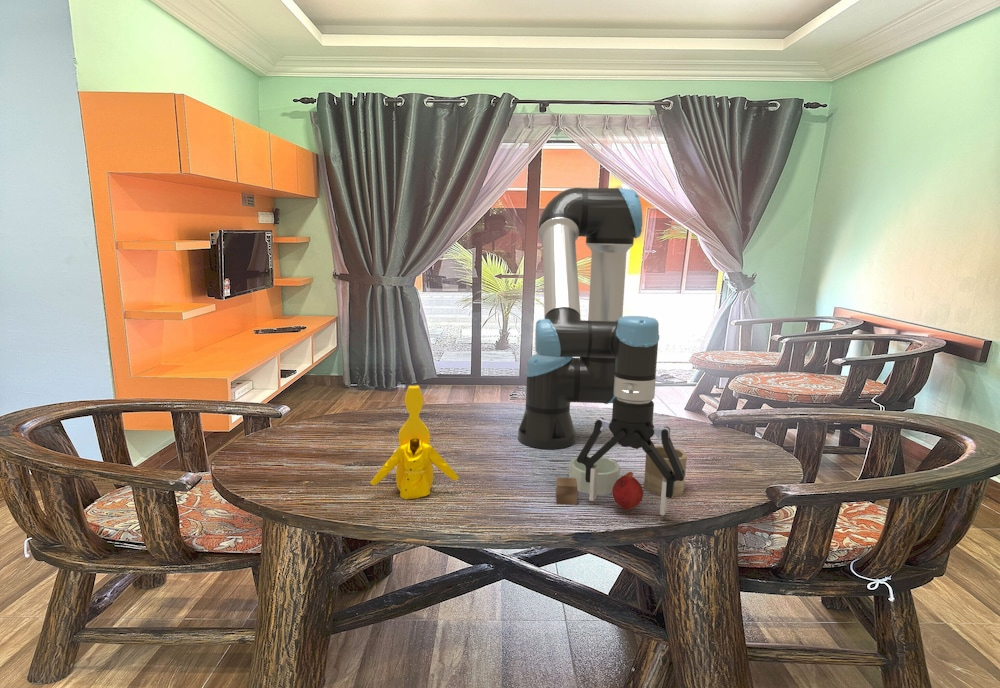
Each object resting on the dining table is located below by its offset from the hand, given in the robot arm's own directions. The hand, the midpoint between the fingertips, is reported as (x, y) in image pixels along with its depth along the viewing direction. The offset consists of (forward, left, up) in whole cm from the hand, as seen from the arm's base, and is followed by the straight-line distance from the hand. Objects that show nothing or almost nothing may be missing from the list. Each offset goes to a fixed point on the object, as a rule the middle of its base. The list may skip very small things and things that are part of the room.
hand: (627, 505), depth 108 cm
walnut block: (-12, -1, -1) cm, 12 cm away
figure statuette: (-41, -12, -2) cm, 43 cm away
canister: (+5, +14, -1) cm, 15 cm away
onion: (0, 0, -2) cm, 2 cm away
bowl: (-9, +9, -1) cm, 13 cm away
